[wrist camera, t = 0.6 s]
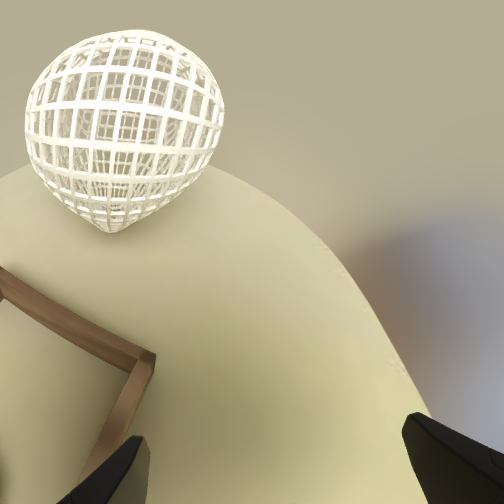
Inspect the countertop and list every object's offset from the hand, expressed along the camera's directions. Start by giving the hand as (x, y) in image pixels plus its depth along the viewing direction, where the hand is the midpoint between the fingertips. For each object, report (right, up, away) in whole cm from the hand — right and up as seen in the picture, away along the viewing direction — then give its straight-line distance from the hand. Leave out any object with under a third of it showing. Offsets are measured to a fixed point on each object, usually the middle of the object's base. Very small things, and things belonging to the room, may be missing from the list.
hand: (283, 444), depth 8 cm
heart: (-18, +9, +25) cm, 32 cm away
